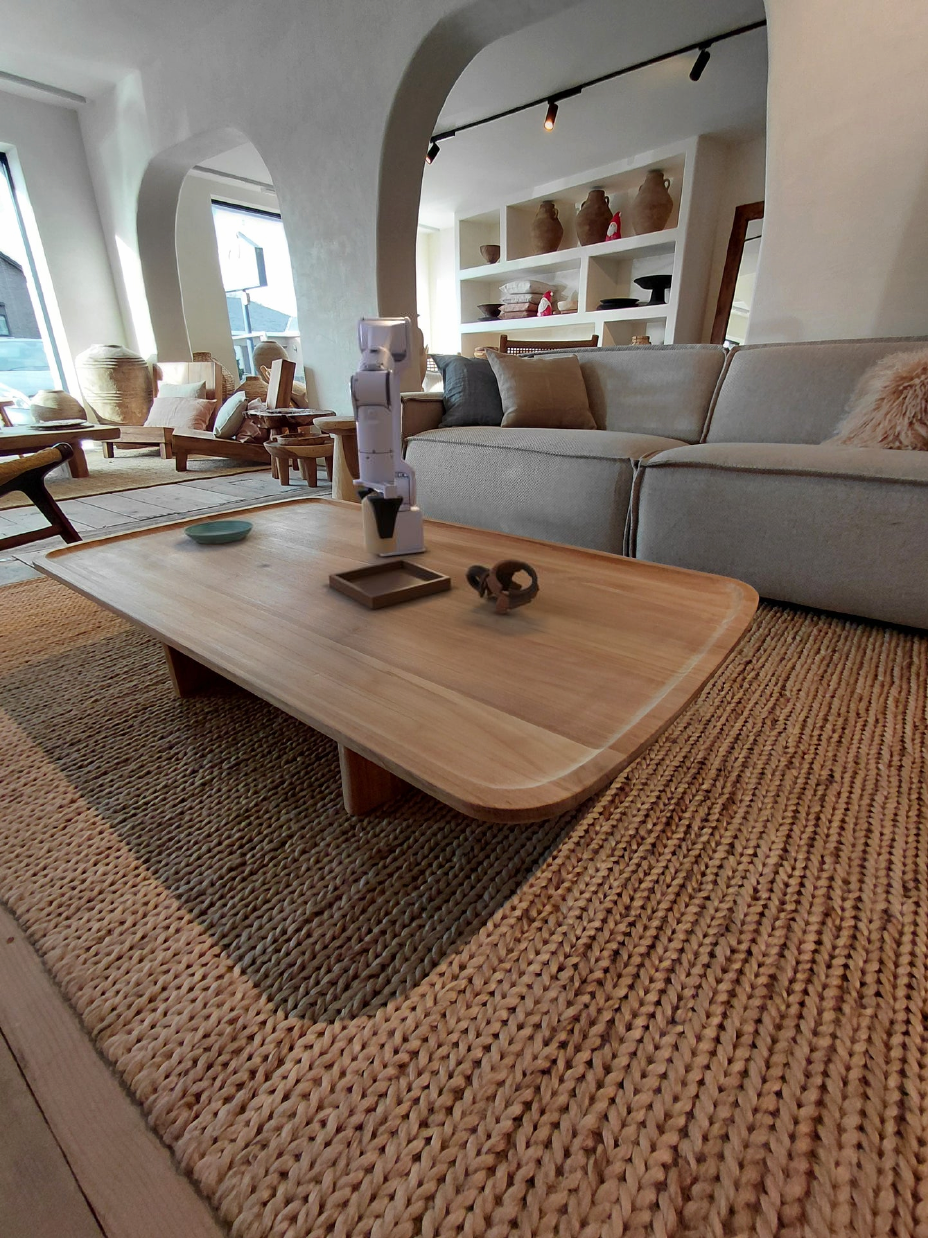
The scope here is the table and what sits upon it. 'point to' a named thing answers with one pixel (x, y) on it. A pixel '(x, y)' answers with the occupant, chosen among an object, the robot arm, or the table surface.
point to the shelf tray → (389, 583)
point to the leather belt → (503, 583)
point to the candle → (375, 532)
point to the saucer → (218, 531)
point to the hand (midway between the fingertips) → (380, 533)
